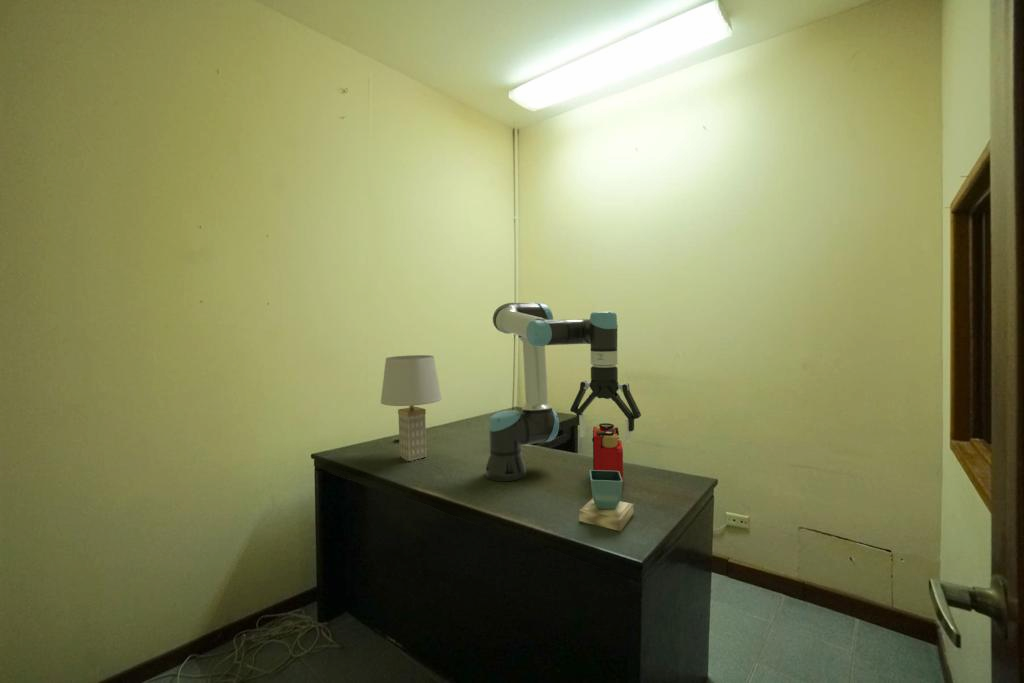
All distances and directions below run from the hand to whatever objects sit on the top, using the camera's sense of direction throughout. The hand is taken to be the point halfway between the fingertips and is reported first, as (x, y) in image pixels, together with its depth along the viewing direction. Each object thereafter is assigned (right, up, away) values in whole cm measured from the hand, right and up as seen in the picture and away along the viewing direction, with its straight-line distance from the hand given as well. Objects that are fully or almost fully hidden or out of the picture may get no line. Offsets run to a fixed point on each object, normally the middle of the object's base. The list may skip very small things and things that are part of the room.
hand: (604, 439), depth 123 cm
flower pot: (0, -20, +1) cm, 20 cm away
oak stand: (+1, -23, 0) cm, 23 cm away
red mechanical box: (+8, -22, +30) cm, 38 cm away
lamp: (-69, -22, +60) cm, 94 cm away
